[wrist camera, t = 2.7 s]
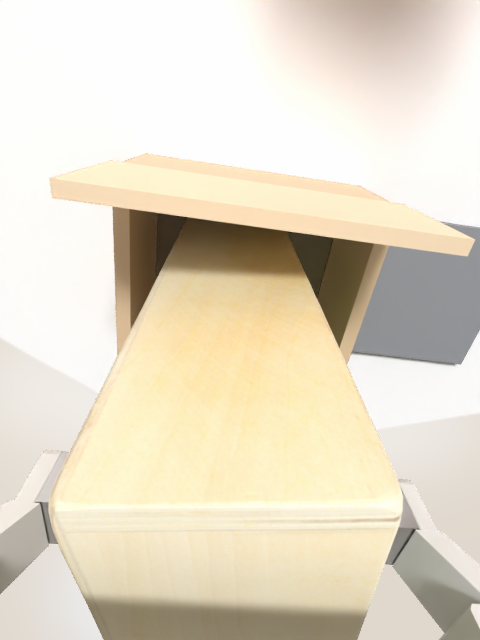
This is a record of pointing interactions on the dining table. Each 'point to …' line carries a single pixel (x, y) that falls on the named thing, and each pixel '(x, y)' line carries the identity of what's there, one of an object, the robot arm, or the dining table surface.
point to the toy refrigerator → (228, 460)
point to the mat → (424, 304)
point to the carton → (253, 210)
